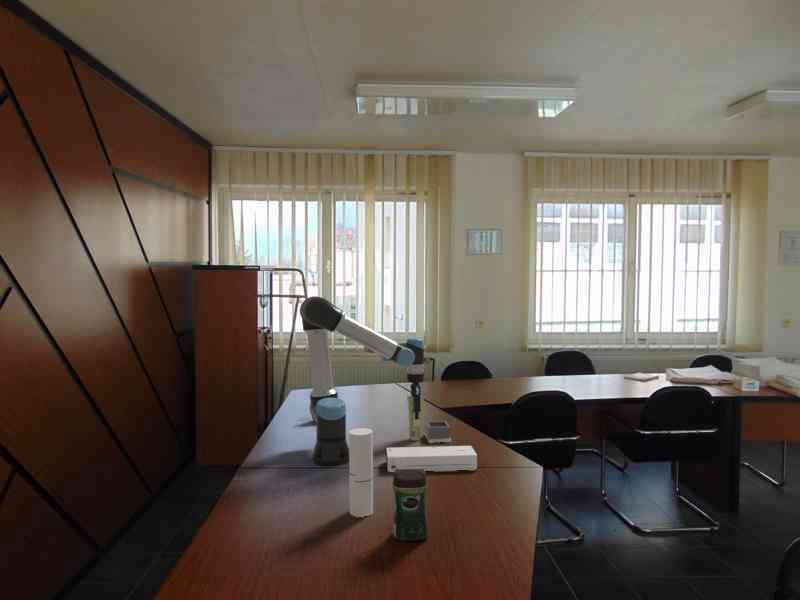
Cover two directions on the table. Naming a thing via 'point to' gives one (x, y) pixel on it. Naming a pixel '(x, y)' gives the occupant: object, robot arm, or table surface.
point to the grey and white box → (437, 431)
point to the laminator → (432, 458)
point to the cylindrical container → (361, 472)
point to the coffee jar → (410, 505)
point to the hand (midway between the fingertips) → (415, 424)
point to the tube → (414, 431)
